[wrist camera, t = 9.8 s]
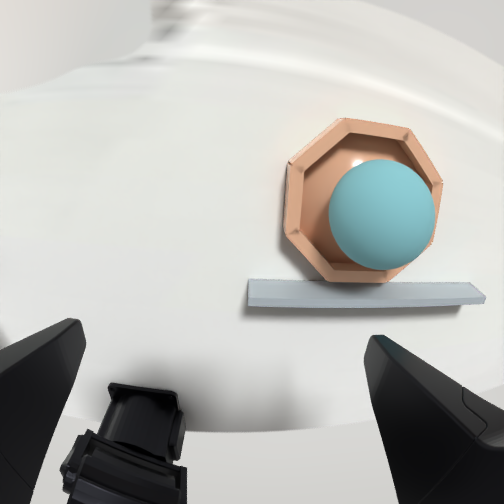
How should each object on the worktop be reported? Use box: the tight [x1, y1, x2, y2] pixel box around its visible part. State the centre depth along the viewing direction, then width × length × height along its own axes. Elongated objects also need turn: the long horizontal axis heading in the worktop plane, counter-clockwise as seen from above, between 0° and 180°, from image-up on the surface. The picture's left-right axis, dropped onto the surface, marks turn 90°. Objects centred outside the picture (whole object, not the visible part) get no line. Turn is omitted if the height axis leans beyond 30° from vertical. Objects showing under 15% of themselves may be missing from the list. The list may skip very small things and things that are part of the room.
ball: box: [329, 159, 435, 270], centre depth 17 cm, size 6×6×6 cm
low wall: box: [248, 279, 486, 308], centre depth 21 cm, size 18×1×2 cm, turn 88°
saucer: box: [283, 118, 443, 283], centre depth 19 cm, size 10×10×2 cm
